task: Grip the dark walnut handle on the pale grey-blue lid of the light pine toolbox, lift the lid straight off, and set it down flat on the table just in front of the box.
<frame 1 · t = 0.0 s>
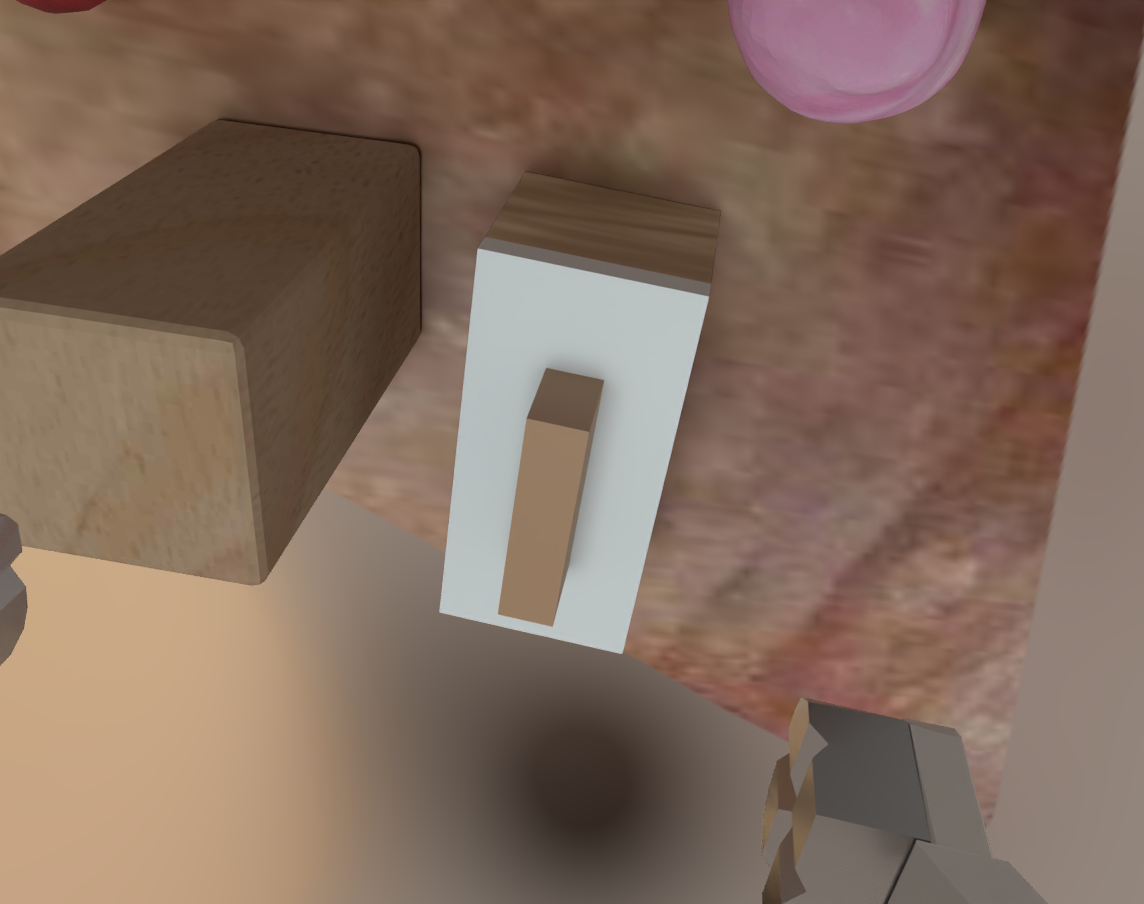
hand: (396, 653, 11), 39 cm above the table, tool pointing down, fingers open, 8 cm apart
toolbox: (590, 372, 53), on the table
wooden block: (324, 230, 52), on the table
toolbox lid: (562, 458, 47), point 8 cm above the table, touching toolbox
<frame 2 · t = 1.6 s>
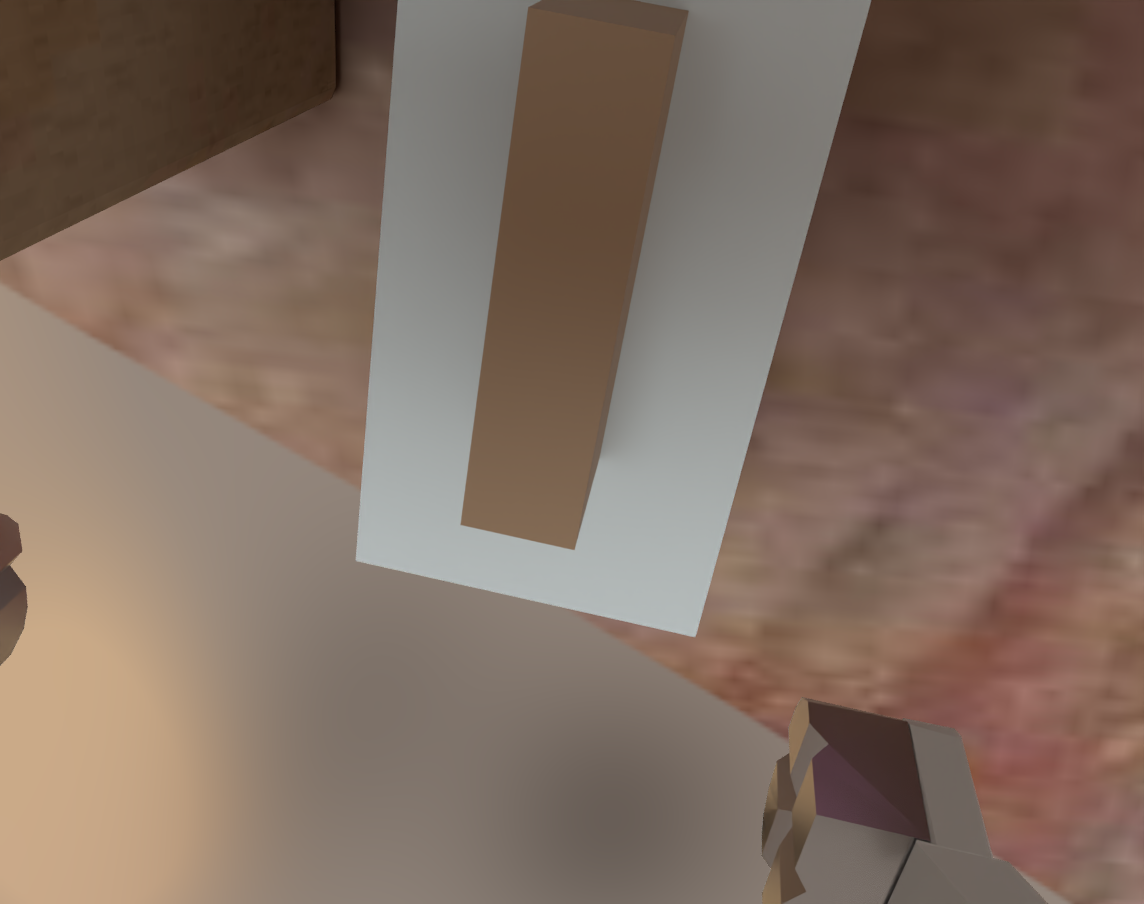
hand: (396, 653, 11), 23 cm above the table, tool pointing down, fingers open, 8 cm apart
toolbox lid: (592, 231, 24), point 8 cm above the table, touching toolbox
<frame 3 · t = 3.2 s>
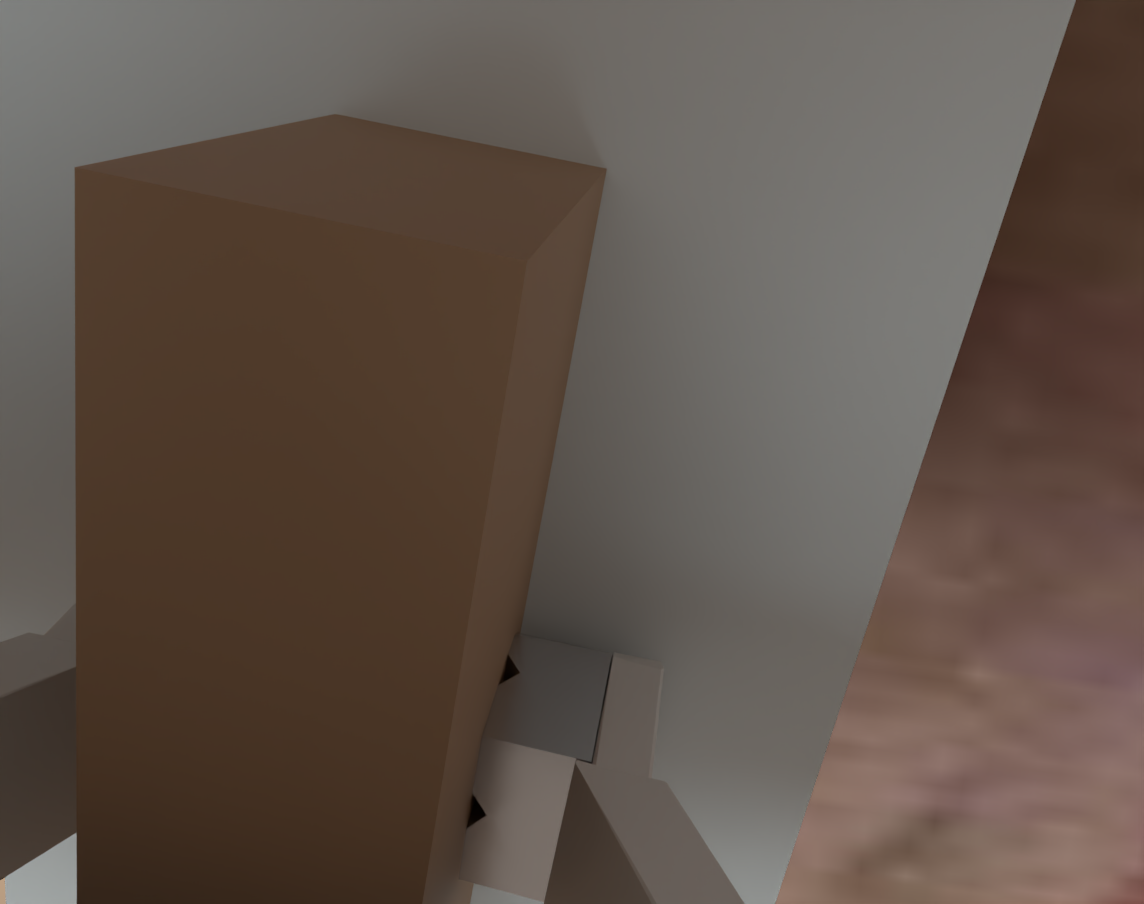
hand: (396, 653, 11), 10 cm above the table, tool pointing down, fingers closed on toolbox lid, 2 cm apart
toolbox lid: (432, 578, 12), point 9 cm above the table, tilted 6°, touching gripper
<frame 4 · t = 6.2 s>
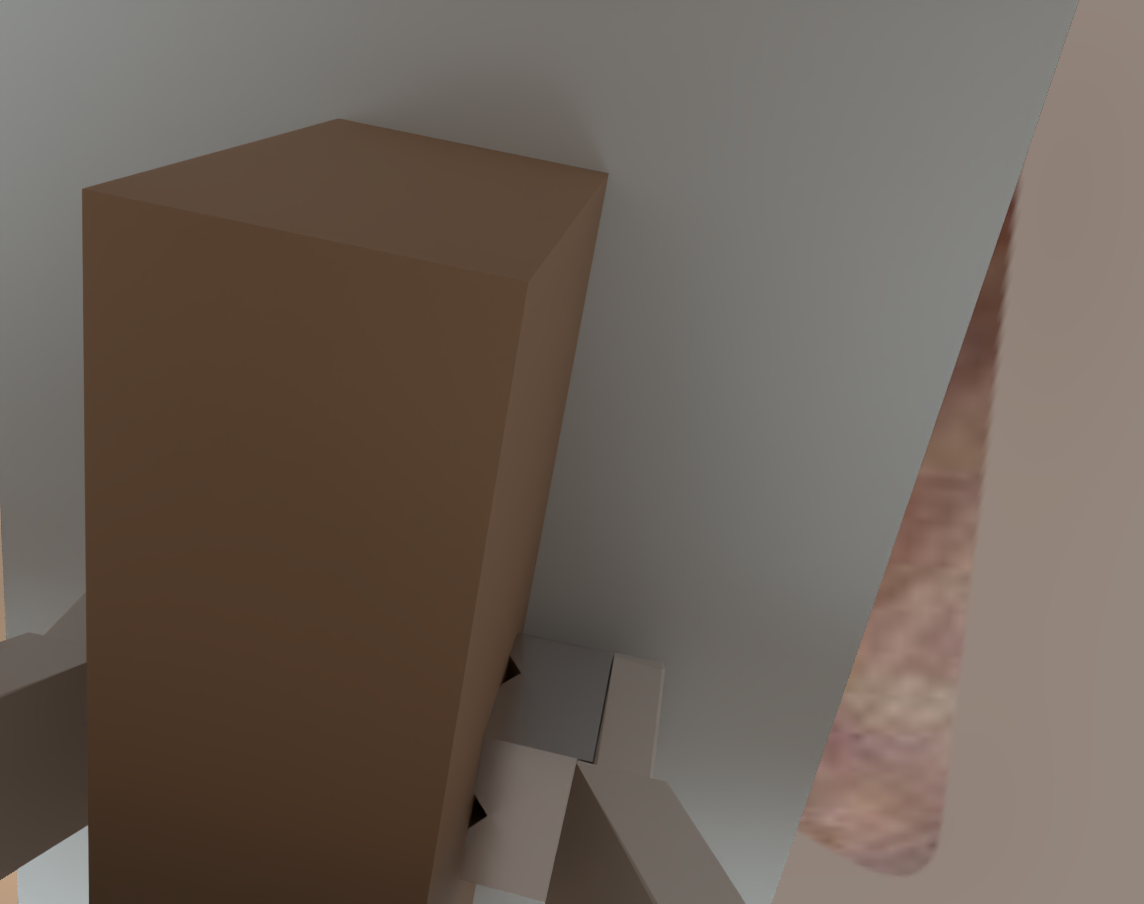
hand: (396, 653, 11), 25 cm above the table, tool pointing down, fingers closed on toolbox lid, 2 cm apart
toolbox lid: (436, 574, 12), point 23 cm above the table, touching gripper
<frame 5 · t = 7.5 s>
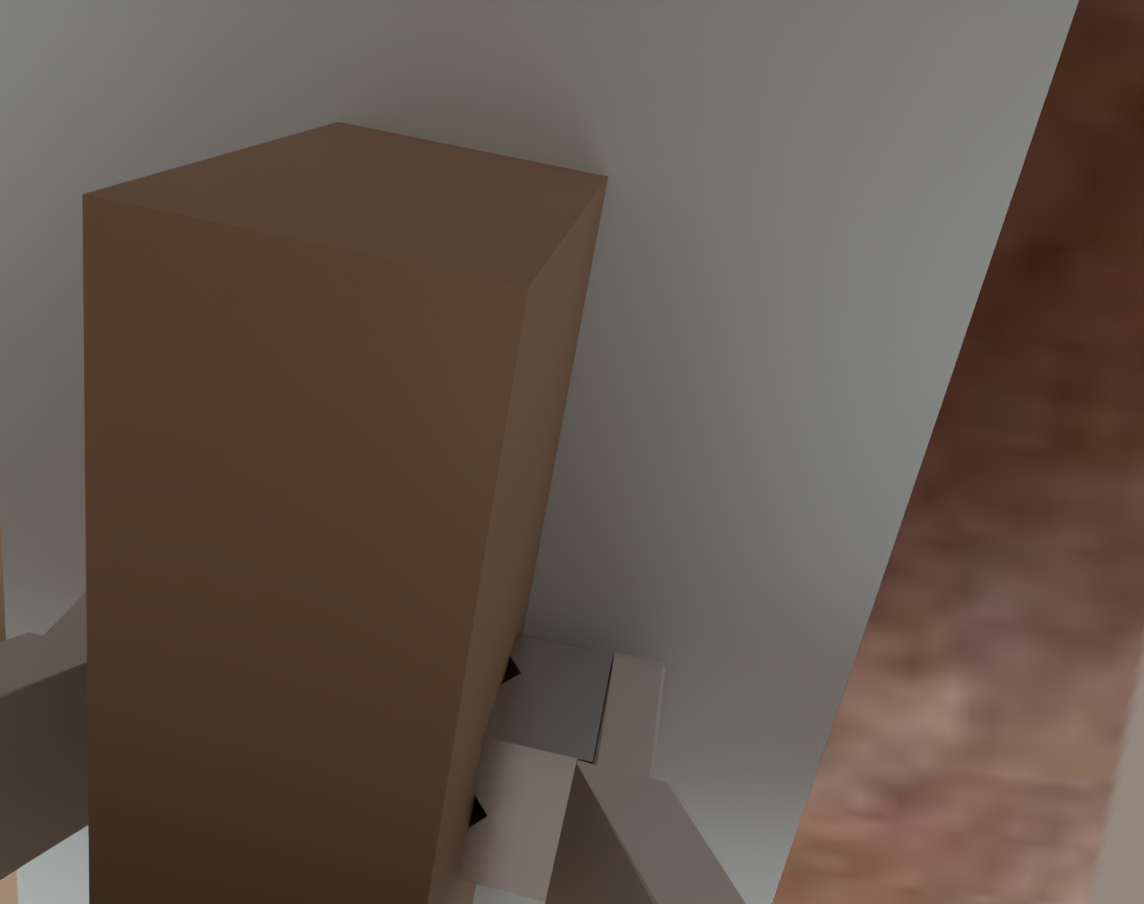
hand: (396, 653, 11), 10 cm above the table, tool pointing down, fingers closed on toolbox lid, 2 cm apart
toolbox lid: (435, 576, 12), point 9 cm above the table, tilted 5°, touching gripper
when the fingers open (5 cm above the table, at t = 8.7 s): toolbox lid drops 3 cm, point 1 cm above the table.
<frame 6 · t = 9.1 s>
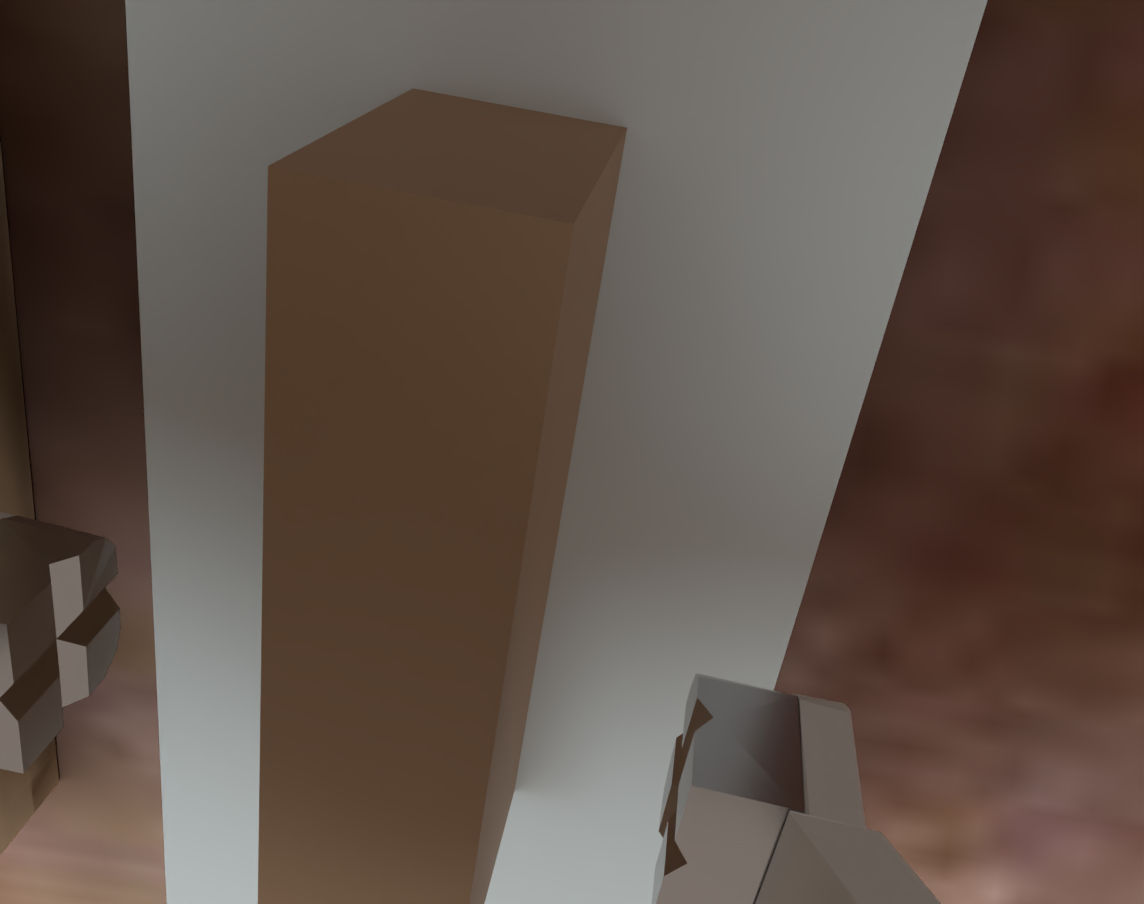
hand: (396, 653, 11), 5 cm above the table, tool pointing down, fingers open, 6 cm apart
toolbox lid: (491, 455, 15), point 1 cm above the table
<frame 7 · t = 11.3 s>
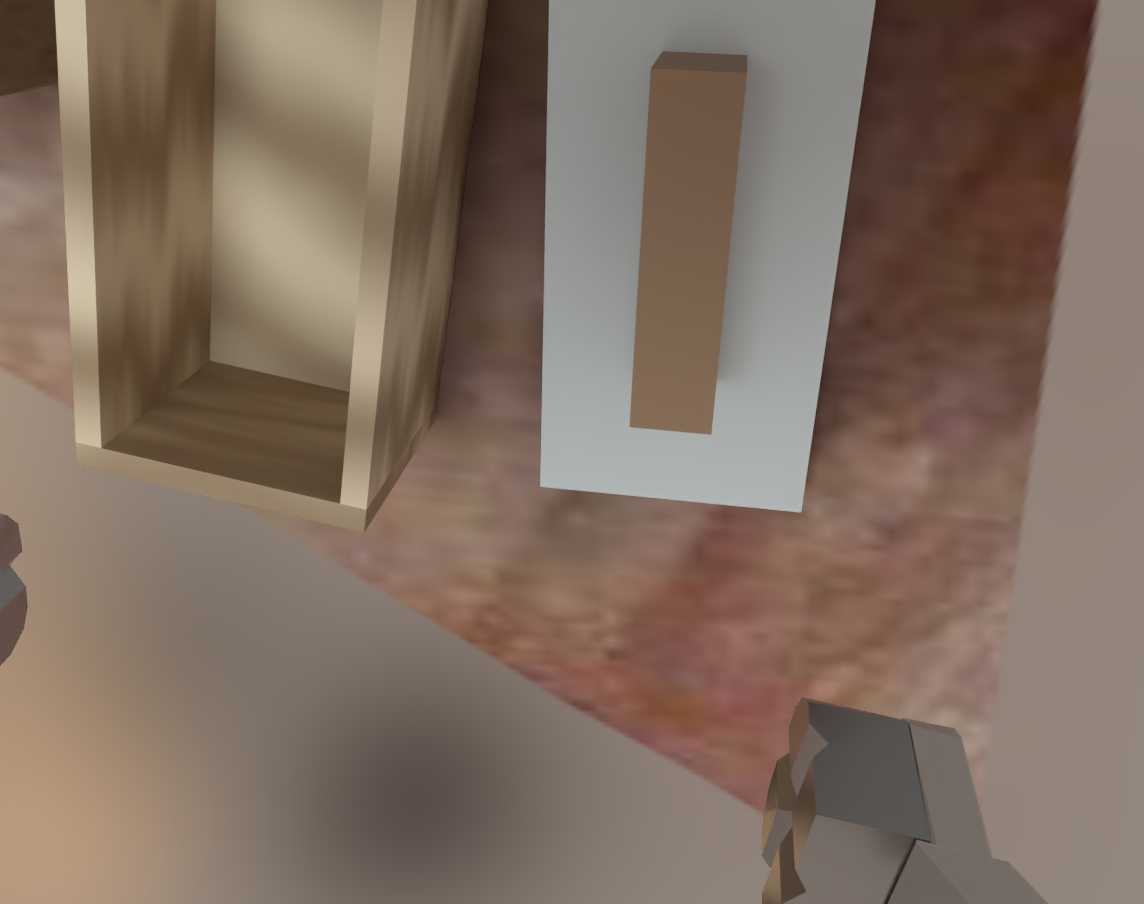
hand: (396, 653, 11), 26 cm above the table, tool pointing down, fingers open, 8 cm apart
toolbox: (333, 132, 35), on the table
toolbox lid: (692, 217, 33), point 1 cm above the table
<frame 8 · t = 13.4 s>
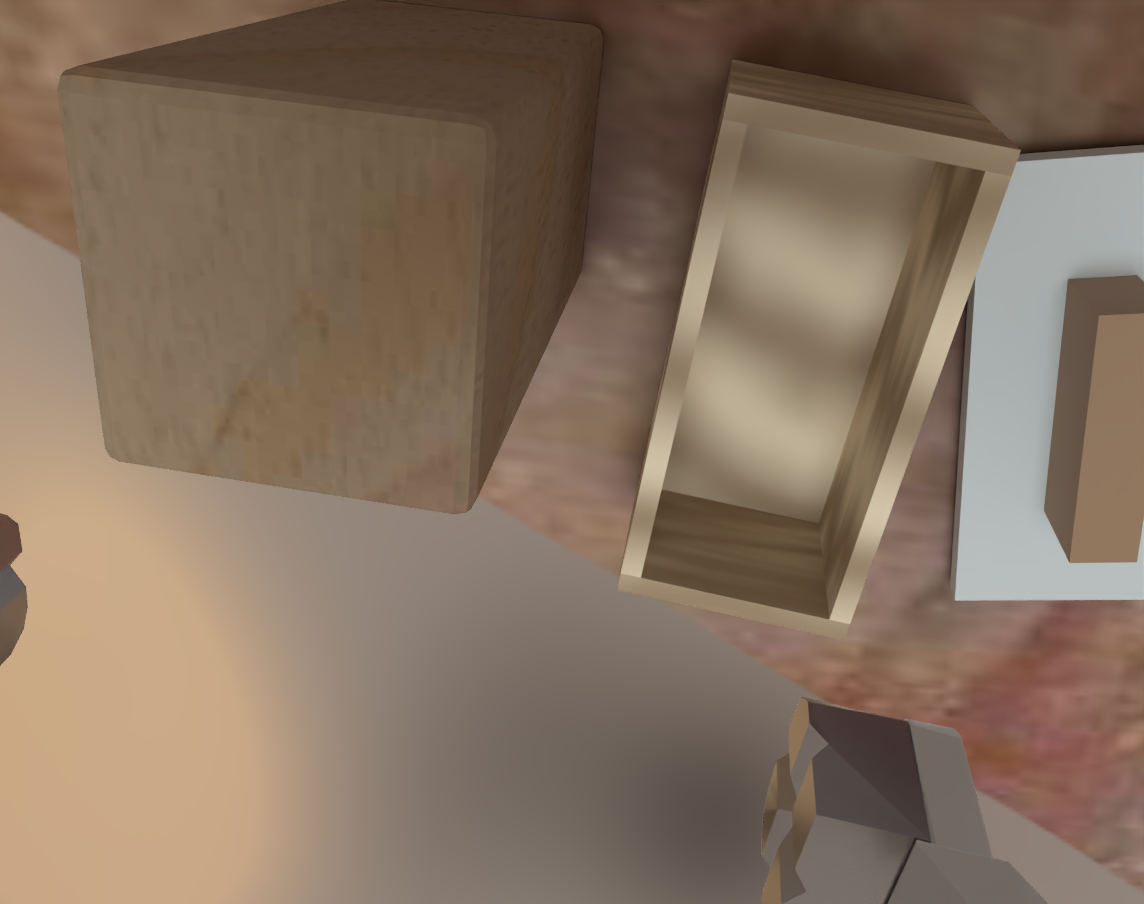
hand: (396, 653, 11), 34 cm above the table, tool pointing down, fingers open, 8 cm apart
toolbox: (786, 319, 44), on the table
wooden block: (471, 142, 43), on the table
toolbox lid: (1079, 387, 43), point 1 cm above the table
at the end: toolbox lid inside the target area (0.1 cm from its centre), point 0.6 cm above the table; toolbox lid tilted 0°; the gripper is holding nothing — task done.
